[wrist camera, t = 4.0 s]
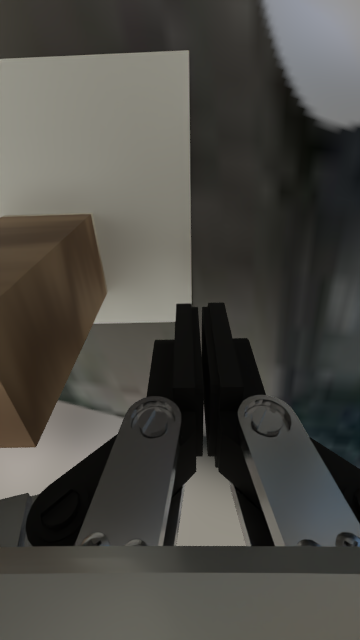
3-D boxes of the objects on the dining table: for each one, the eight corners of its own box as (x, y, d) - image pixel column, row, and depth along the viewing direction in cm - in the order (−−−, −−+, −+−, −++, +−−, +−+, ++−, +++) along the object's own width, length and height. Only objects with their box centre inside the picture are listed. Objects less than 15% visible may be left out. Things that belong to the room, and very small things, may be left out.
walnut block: (4, 215, 16) (-234, 329, 7) (92, 212, 16) (-30, 325, 7) (32, 293, 19) (-110, 448, 10) (107, 291, 19) (35, 447, 10)
